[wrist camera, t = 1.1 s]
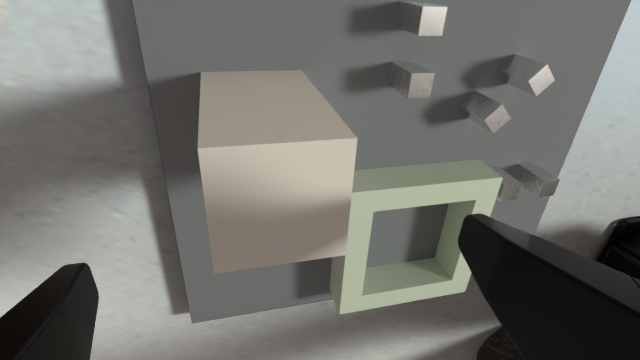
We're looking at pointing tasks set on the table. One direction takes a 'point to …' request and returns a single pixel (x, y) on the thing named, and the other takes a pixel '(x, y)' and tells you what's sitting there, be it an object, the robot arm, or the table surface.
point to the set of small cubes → (475, 93)
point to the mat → (370, 110)
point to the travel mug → (499, 348)
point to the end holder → (404, 192)
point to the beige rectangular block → (272, 169)
